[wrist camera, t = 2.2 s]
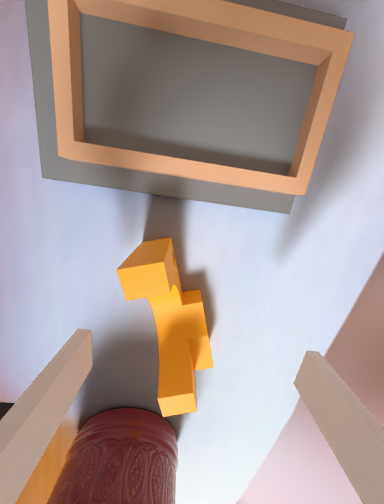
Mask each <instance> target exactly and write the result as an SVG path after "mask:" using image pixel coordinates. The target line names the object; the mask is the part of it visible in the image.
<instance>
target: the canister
mask: <svg viewBox="0 0 384 504" xmlns="http://www.w3.org/2000/svg"><path fill="white" fill-rule="evenodd" d="M177 457H178V448H177V444H176V434H175V431H174V429H173V428H172V426H171V425H170V424H169V423H168V422H167V421H166V420H165V419H164V418H162V417H161V416H159V415H157V414H155V413H152V412H150V411H146V410H142V409H137V408H117V409H112V410H108V411H104V412H102V413H99V414H97V415H95V416H93V417H92V418H90V419H89V420H88V421H87V422H86V423H85V424H84V425H83V426H82V428H81V430H80V432H79V434H78V435H77V436H76V438H75V439H74V441H73V442H72V445H71V448H70V449H69V451H68V453H67V456H66V460H65V464H64V466H63V468H62V471H61V473H60V475H59V477H58V480H57V482H56V484H55V486H54V488H53V491H52V493H51V495H50V497H49V500H48V502H47V504H175V487H176V470H177V465H178V458H177Z"/></svg>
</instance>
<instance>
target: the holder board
mask: <svg viewBox="0 0 384 504" xmlns="http://www.w3.org/2000/svg"><path fill="white" fill-rule="evenodd" d="M25 6H26V16H27V26H28V37H29V47H30V57H31V68H32V78H33V88H34V99H35V109H36V119H37V130H38V140H39V150H40V161H41V171H42V178H46V179H53V180H60V181H67V182H74V183H80V184H87V185H94V186H101V187H108V188H115V189H121V190H128V191H135V192H142V193H149V194H155V195H162V196H169V197H176V198H183V199H190V200H196V201H203V202H210V203H217V204H224V205H231V206H237V207H244V208H251V209H258V210H265V211H272V212H278V213H285V214H290V211H291V207H292V204H293V201H294V197H295V195H305V194H306V190H307V187H308V184H309V181H310V177H311V174H312V171H313V168H314V164H315V161H316V158H317V155H318V152H319V148H320V145H321V142H322V139H323V135H324V132H325V129H326V126H327V123H328V119H329V116H330V113H331V110H332V106H333V103H334V100H335V97H336V93H337V90H338V87H339V84H340V81H341V77H342V74H343V71H344V68H345V64H346V61H347V58H348V55H349V52H350V48H351V45H352V42H353V39H354V35H355V33H353V32H349V31H345V30H344V27H345V24H346V20H347V19H346V18H342V17H338V16H334V15H330V14H326V13H322V12H318V11H314V10H310V9H306V8H302V7H298V6H294V5H290V4H286V3H282V2H278V1H274V0H25Z"/></svg>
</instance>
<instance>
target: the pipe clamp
mask: <svg viewBox="0 0 384 504" xmlns="http://www.w3.org/2000/svg"><path fill="white" fill-rule="evenodd" d="M117 273H118V276H119V280H120V283H121V286H122V289H123V292H124V295H125V299H126V301H127V300H133V299H139V298H145V297H146V298H147V299H148V301H149V303H150V305H151V308H152V311H153V314H154V318H155V323H156V328H157V335H158V345H159V387H158V397H157V400H158V403H159V406H160V409H161V412H162V416H163V417H166V416H172V415H178V414H184V413H190V412H196V411H197V399H196V384H195V370H201V369H207V368H213V361H212V355H211V349H210V343H209V337H208V331H207V326H206V320H205V314H204V308H203V302H202V296H201V291H200V289H197V290H191V291H185V292H182V287H181V282H180V277H179V273H178V268H177V263H176V258H175V253H174V248H173V243H172V238H171V237H168V238H163V239H157V240H151V241H145V242H142V243H141V244H140V245H139V246H138V247H137V248H136V249H135V250H134V252H133V253H132V254H131V255H130V256H129V257H128V258H127V259H126V260H125V261H124V262H123V263H122V264H121V265H120V267H119V268H118V269H117Z"/></svg>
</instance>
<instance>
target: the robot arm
mask: <svg viewBox="0 0 384 504" xmlns="http://www.w3.org/2000/svg"><path fill="white" fill-rule="evenodd" d="M91 368H92V330H84V329H77V331H76V332H75V333H74V334H73V335H72V336H71V338H70V339H69V340H68V341H67V342H66V344H65V345H64V346H63V347H62V348H61V349H60V351H59V352H58V353H57V354H56V355H55V357H54V358H53V359H52V360H51V361H50V362H49V364H48V365H47V366H46V367H45V368H44V370H43V371H42V372H41V373H40V374H39V375H38V377H37V378H36V379H35V380H34V381H33V383H32V384H31V385H30V386H29V387H28V388H27V390H26V391H25V392H24V393H23V394H22V396H21V397H20V398H19V399H18V400H17V402H16V403H5V402H1V403H0V504H15V503H16V501H17V499H18V497H19V495H20V494H21V492H22V490H23V488H24V487H25V485H26V483H27V481H28V480H29V478H30V476H31V474H32V473H33V471H34V469H35V467H36V465H37V464H38V462H39V460H40V458H41V457H42V455H43V453H44V451H45V450H46V448H47V446H48V444H49V443H50V441H51V439H52V437H53V436H54V434H55V432H56V430H57V428H58V427H59V425H60V423H61V421H62V420H63V418H64V416H65V414H66V413H67V411H68V409H69V407H70V406H71V404H72V402H73V400H74V398H75V397H76V395H77V393H78V391H79V390H80V388H81V386H82V384H83V383H84V381H85V379H86V377H87V376H88V374H89V372H90V370H91ZM294 385H295V387H296V388H297V390H298V392H299V394H300V395H301V397H302V399H303V400H304V402H305V404H306V405H307V407H308V409H309V410H310V412H311V414H312V416H313V417H314V420H315V421H316V423H317V425H318V427H319V428H320V430H321V432H322V433H323V435H324V437H325V438H326V440H327V442H328V443H329V445H330V447H331V449H332V451H333V453H334V454H335V456H336V457H337V459H338V461H339V463H340V464H341V466H342V468H343V470H344V471H345V473H346V475H347V477H348V478H349V480H350V482H351V484H352V485H353V487H354V488H355V490H356V492H357V494H358V496H359V497H360V499H361V501H362V503H363V504H384V428H383V427H382V425H381V424H380V423H379V422H378V421H377V419H376V418H375V417H374V416H373V415H372V414H371V413H370V412H369V410H368V409H367V408H366V407H365V406H364V404H363V403H362V402H361V401H360V400H359V398H358V397H357V396H356V395H355V394H354V393H353V392H352V390H351V389H350V388H349V387H348V386H347V385H346V383H345V382H344V381H343V380H342V379H341V378H340V376H339V375H338V374H337V373H336V372H335V371H334V369H333V368H332V367H331V366H330V365H329V364H328V362H327V361H326V360H325V359H324V358H323V357H322V355H321V354H320V353H319V352H314V351H307V352H306V354H305V357H304V359H303V362H302V364H301V366H300V369H299V371H298V374H297V376H296V379H295V381H294Z"/></svg>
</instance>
